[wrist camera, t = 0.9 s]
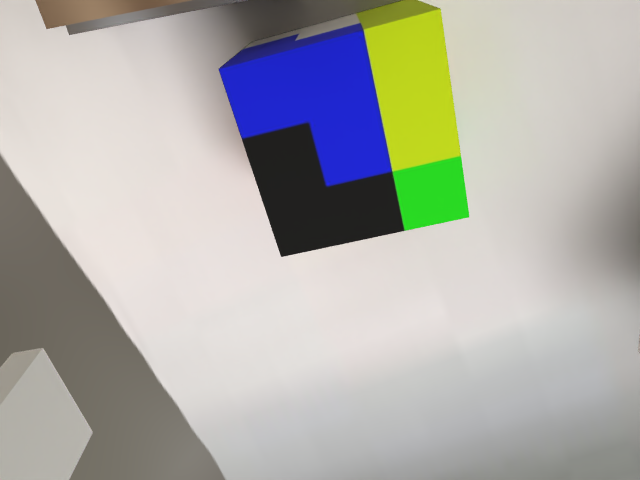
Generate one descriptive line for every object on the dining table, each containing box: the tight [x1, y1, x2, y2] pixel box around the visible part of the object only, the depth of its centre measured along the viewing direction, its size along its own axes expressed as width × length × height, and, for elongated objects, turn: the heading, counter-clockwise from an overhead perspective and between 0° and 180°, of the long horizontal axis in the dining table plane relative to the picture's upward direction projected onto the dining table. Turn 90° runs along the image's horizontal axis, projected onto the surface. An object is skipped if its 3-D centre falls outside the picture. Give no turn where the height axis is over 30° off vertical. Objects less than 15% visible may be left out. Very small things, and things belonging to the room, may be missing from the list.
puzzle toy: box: [219, 0, 469, 257], centre depth 29 cm, size 10×10×10 cm
